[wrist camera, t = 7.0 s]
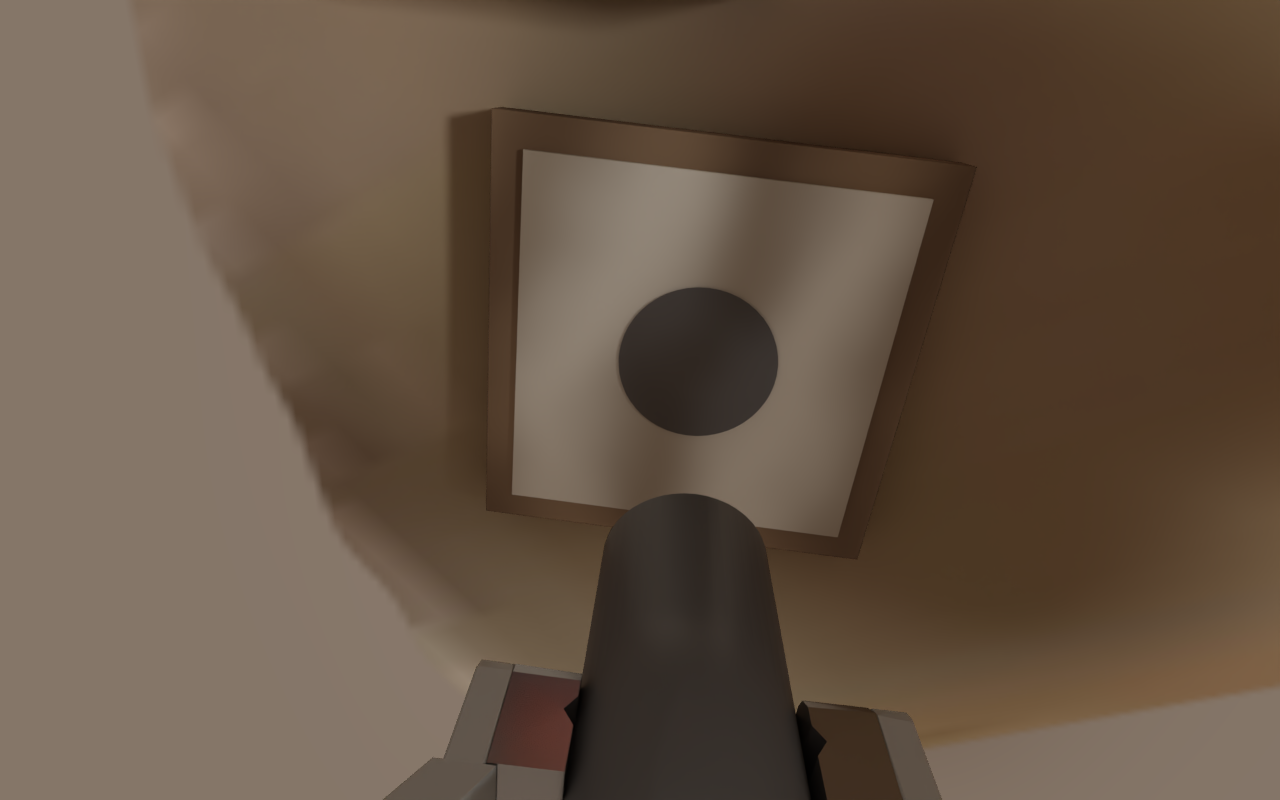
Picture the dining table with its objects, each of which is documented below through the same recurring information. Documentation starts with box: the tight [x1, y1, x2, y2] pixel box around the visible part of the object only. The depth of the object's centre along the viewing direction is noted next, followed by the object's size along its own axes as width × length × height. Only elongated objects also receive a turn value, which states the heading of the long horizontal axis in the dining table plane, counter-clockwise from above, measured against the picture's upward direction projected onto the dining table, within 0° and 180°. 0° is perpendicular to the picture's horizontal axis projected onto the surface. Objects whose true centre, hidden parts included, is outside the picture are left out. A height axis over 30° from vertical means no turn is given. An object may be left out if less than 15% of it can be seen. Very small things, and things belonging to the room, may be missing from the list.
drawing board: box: [486, 107, 977, 559], centre depth 23 cm, size 14×14×2 cm
